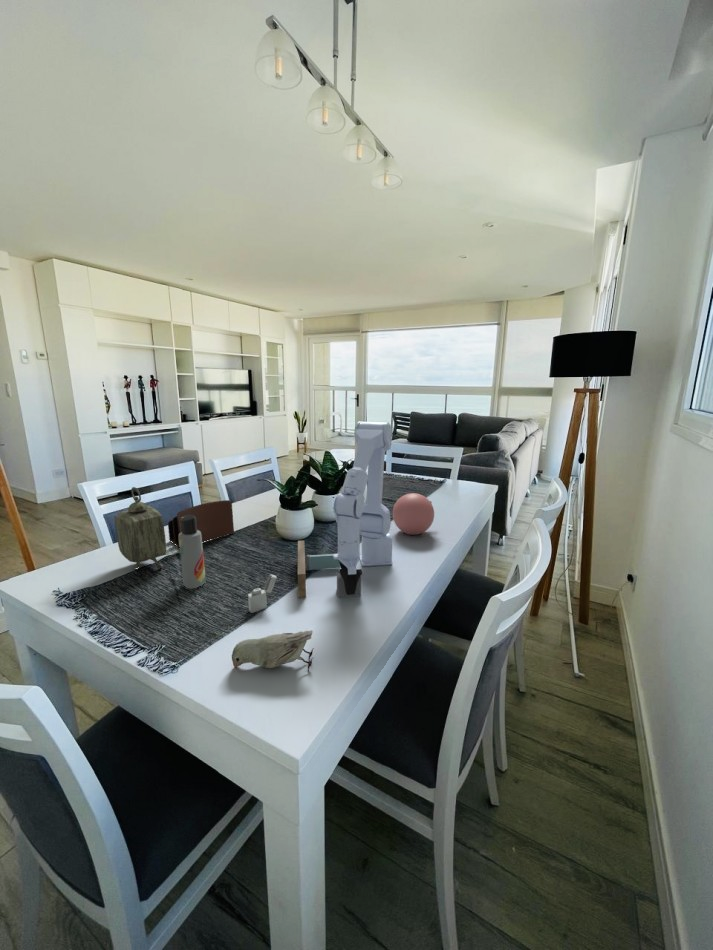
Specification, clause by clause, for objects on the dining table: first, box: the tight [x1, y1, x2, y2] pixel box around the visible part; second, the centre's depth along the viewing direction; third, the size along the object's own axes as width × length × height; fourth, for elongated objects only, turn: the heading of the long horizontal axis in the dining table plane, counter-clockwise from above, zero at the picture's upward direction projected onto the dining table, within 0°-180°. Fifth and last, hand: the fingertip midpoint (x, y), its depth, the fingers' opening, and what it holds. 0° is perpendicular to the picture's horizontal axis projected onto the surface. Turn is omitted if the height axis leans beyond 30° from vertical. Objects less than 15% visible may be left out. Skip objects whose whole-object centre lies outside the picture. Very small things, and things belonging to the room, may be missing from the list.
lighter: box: [247, 573, 278, 614], centre depth 95 cm, size 7×2×8 cm, turn 125°
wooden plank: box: [297, 540, 307, 599], centre depth 110 cm, size 2×22×7 cm, turn 8°
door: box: [305, 553, 341, 571], centre depth 115 cm, size 10×2×4 cm, turn 98°
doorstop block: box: [336, 570, 362, 598], centre depth 102 cm, size 6×4×6 cm, turn 98°
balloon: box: [392, 492, 435, 536], centre depth 144 cm, size 15×20×15 cm
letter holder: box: [167, 499, 235, 547], centre depth 137 cm, size 10×20×14 cm, turn 137°
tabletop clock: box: [114, 486, 167, 569], centre depth 113 cm, size 14×9×25 cm, turn 47°
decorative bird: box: [231, 630, 315, 672], centre depth 75 cm, size 5×16×8 cm, turn 94°
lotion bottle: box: [178, 515, 206, 589], centre depth 104 cm, size 6×6×20 cm
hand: (348, 586), depth 102 cm, fingers open, 7 cm apart
